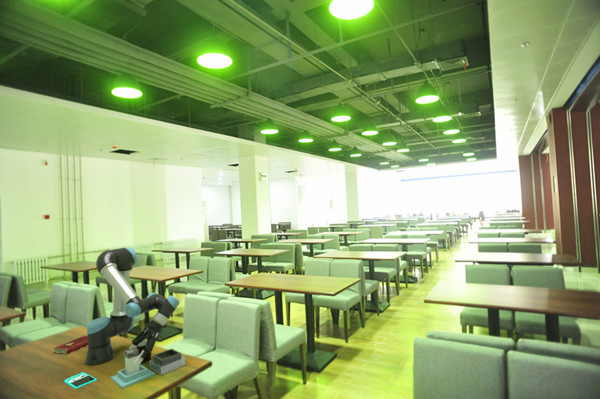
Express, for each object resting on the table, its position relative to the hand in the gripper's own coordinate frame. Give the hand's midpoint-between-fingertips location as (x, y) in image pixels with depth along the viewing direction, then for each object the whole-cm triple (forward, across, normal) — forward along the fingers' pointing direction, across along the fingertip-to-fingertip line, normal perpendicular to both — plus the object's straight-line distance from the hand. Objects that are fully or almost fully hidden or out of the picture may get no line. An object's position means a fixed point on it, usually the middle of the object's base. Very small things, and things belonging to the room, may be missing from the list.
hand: (131, 360), depth 178 cm
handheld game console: (+20, +20, +6) cm, 29 cm away
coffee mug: (-4, +16, -17) cm, 24 cm away
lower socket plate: (+6, 0, -7) cm, 9 cm away
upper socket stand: (-6, -4, -19) cm, 20 cm away
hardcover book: (+11, +77, -2) cm, 77 cm away
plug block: (+5, 0, -6) cm, 8 cm away
